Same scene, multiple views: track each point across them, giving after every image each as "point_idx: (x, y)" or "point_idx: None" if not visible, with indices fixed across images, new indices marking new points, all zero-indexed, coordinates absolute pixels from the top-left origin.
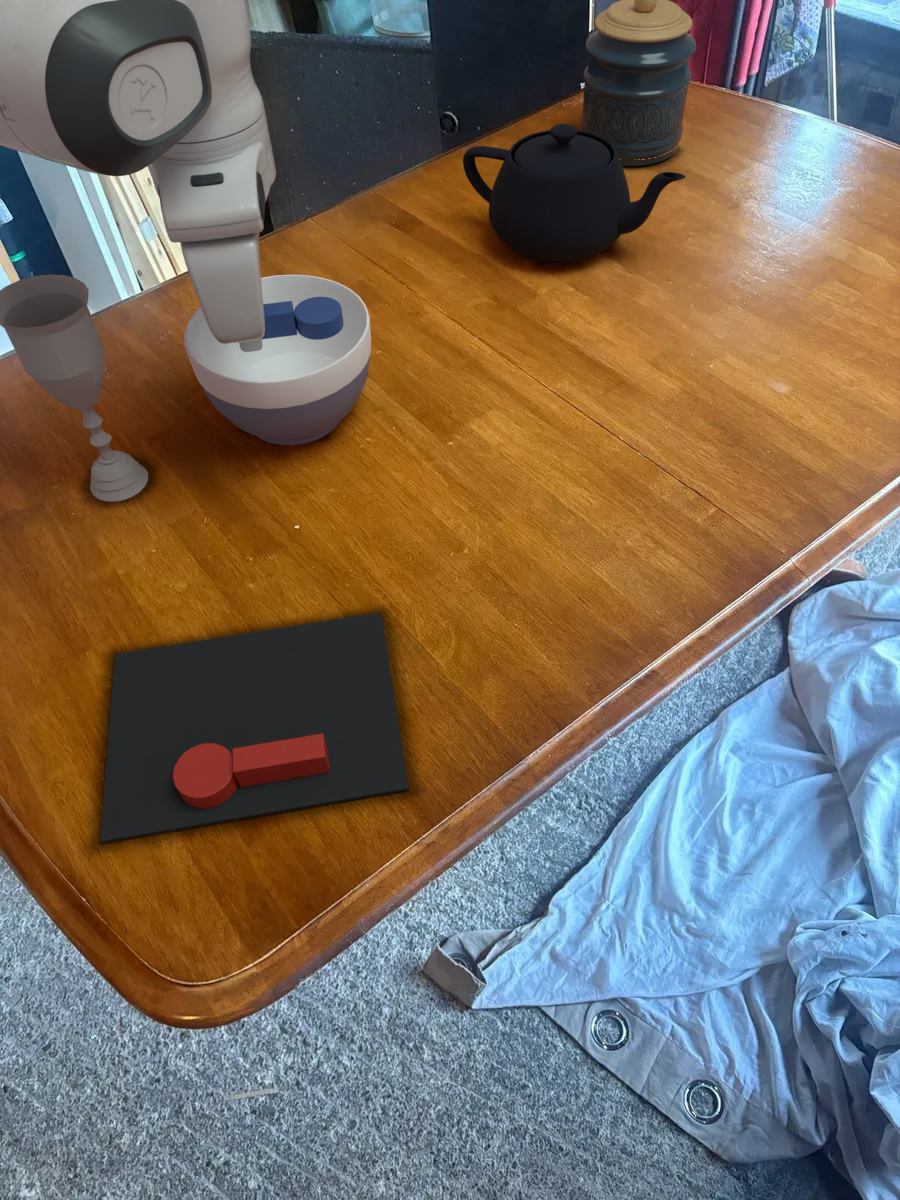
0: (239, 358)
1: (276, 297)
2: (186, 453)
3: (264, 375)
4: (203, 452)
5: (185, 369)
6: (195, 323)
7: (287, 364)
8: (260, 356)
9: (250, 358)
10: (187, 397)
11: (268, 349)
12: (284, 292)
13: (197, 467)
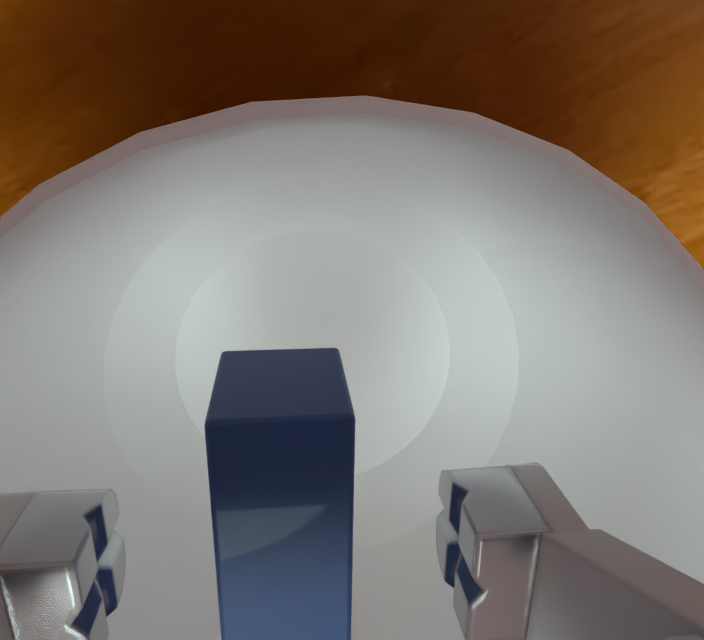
0: (503, 246)
1: (667, 476)
2: (181, 9)
3: (461, 295)
4: (179, 71)
5: (632, 11)
6: (517, 159)
7: (487, 366)
8: (518, 305)
9: (509, 276)
10: (479, 17)
11: (535, 337)
12: (669, 518)
13: (104, 49)
